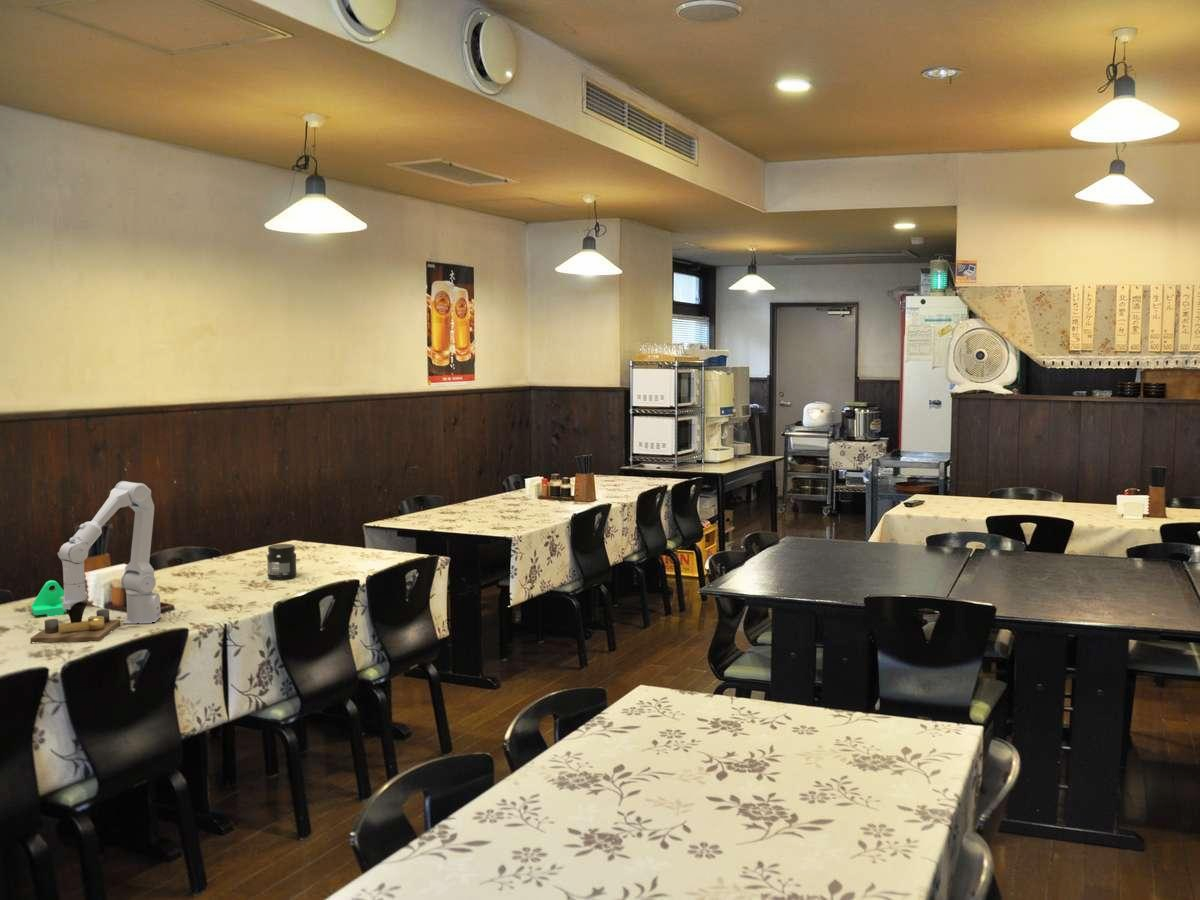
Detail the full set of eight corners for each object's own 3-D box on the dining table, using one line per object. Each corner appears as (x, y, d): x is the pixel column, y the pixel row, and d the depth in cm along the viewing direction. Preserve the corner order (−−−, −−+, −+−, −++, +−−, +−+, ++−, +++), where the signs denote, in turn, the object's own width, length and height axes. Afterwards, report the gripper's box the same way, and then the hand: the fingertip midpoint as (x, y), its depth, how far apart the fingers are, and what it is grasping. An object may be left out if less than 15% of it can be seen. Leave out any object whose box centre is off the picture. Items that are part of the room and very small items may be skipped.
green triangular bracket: (34, 618, 342) (33, 586, 341) (31, 613, 349) (30, 582, 348) (76, 613, 349) (75, 582, 348) (72, 608, 355) (71, 578, 354)
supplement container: (293, 573, 411) (293, 542, 410) (299, 579, 402) (298, 547, 400) (265, 576, 406) (264, 544, 405) (270, 581, 397) (269, 549, 396)
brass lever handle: (103, 625, 327) (103, 615, 327) (105, 629, 323) (104, 618, 323) (58, 630, 321) (58, 620, 321) (59, 634, 317) (59, 623, 317)
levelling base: (120, 624, 335) (119, 608, 335) (99, 641, 316) (98, 624, 316) (56, 626, 333) (55, 610, 333) (30, 643, 314) (29, 626, 313)
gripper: (69, 577, 328) (71, 621, 329) (50, 588, 314) (52, 634, 315) (93, 577, 329) (95, 620, 330) (76, 588, 314) (78, 633, 316)
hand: (76, 627), depth 323 cm, fingers closed, pressing on brass lever handle
